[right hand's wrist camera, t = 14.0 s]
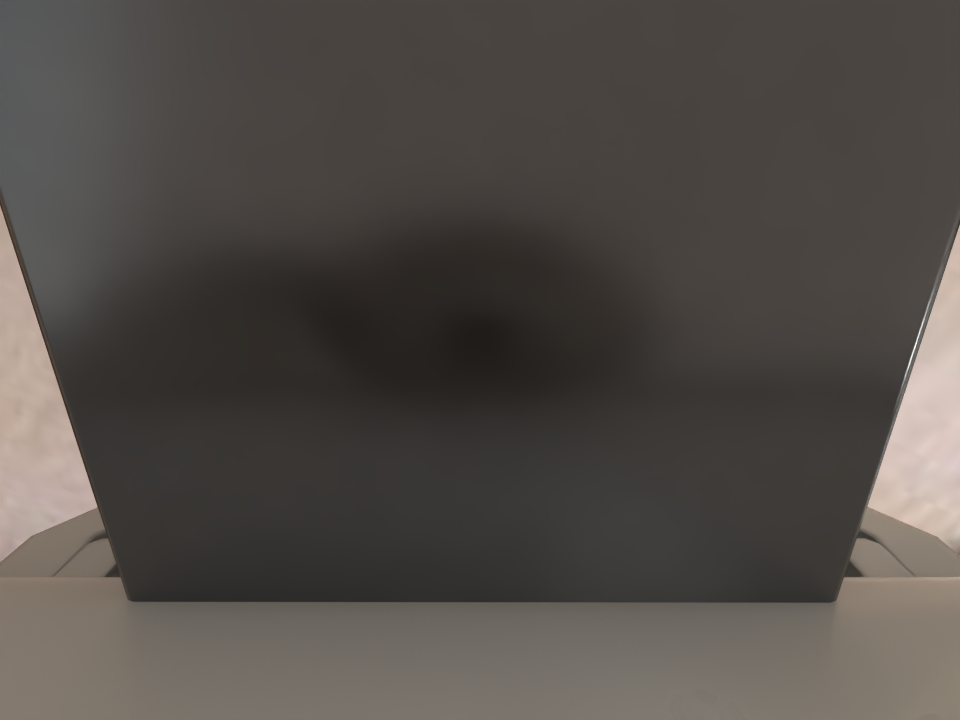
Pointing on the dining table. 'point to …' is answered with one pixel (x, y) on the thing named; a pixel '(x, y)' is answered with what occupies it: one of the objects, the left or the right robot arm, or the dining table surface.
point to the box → (481, 285)
